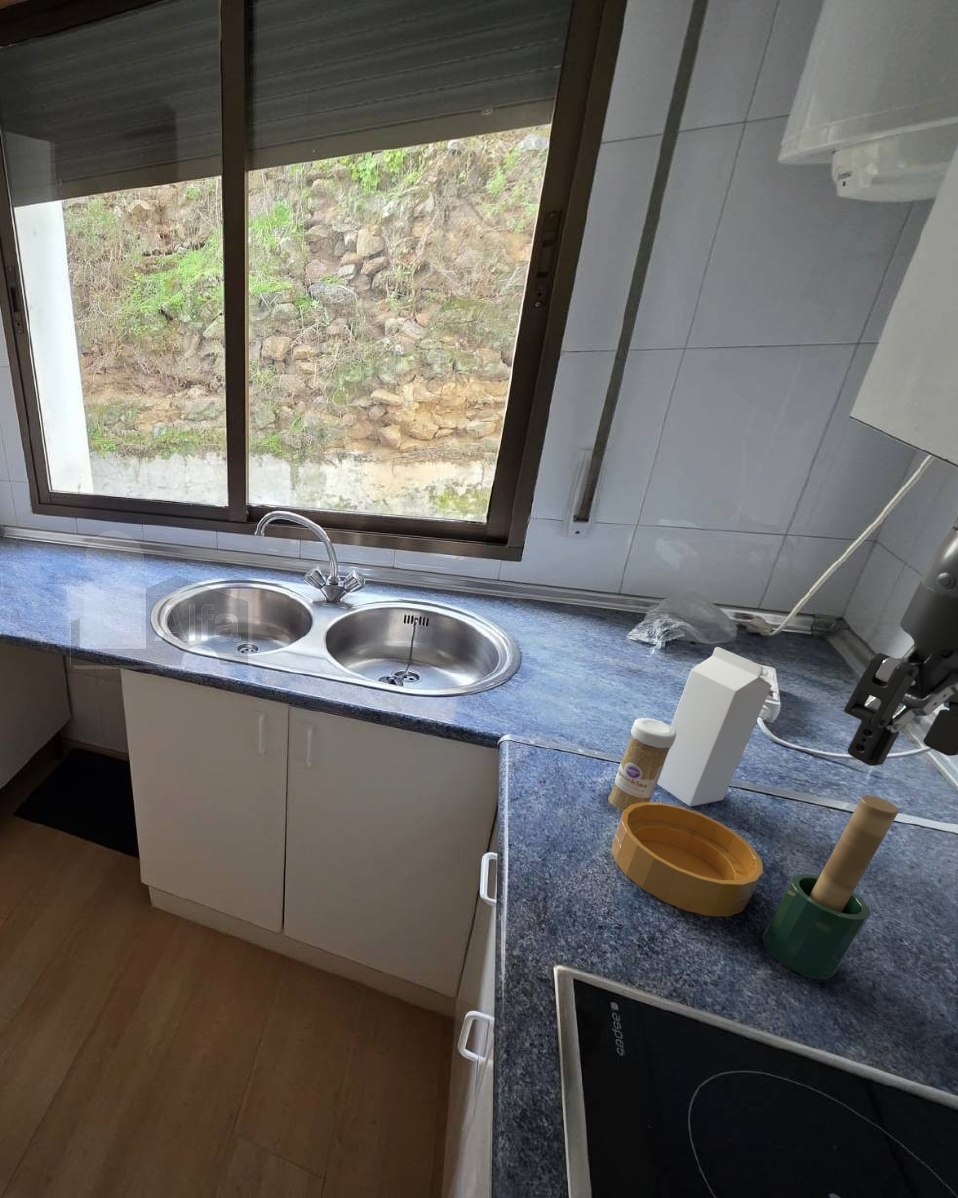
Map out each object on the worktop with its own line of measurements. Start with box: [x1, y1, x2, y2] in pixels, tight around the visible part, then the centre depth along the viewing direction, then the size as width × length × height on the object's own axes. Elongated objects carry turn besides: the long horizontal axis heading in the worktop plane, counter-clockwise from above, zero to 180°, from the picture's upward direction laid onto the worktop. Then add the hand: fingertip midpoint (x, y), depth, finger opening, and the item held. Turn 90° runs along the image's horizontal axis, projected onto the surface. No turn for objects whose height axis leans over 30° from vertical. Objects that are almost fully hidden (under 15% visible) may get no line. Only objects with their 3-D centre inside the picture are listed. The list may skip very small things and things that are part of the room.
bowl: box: [610, 801, 764, 918], centre depth 76 cm, size 13×13×6 cm
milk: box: [657, 646, 772, 807], centre depth 87 cm, size 6×6×22 cm
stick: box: [809, 795, 900, 913], centre depth 63 cm, size 2×2×20 cm
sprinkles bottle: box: [607, 717, 676, 812], centre depth 85 cm, size 5×5×13 cm
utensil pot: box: [761, 873, 871, 980], centre depth 65 cm, size 6×6×9 cm
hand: (901, 755), depth 57 cm, fingers open, 8 cm apart
